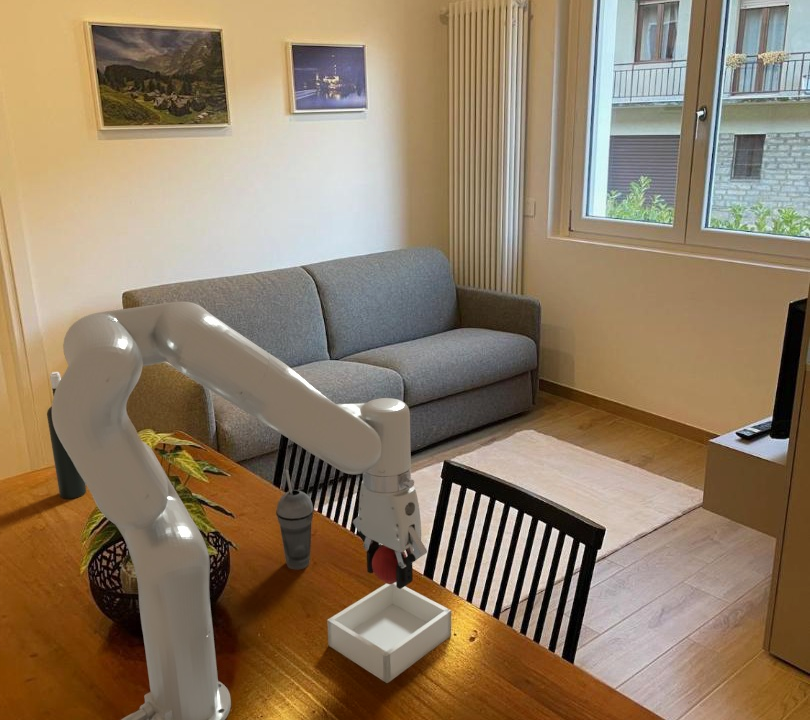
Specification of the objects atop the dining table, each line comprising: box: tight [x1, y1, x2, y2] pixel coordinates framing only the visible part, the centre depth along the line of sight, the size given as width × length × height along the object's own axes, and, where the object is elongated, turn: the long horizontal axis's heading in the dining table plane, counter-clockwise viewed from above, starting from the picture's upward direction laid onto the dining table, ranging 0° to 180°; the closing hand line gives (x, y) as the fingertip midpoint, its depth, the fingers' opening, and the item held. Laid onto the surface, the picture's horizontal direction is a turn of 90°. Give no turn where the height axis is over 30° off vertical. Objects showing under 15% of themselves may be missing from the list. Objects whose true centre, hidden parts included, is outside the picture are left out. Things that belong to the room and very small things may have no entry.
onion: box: [372, 544, 407, 584], centre depth 127 cm, size 6×6×8 cm
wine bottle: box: [46, 371, 87, 500], centre depth 179 cm, size 6×6×30 cm
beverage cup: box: [275, 469, 315, 570], centre depth 151 cm, size 7×7×20 cm
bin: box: [326, 582, 452, 684], centre depth 130 cm, size 16×14×5 cm
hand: (389, 576), depth 127 cm, fingers closed on onion, 5 cm apart
